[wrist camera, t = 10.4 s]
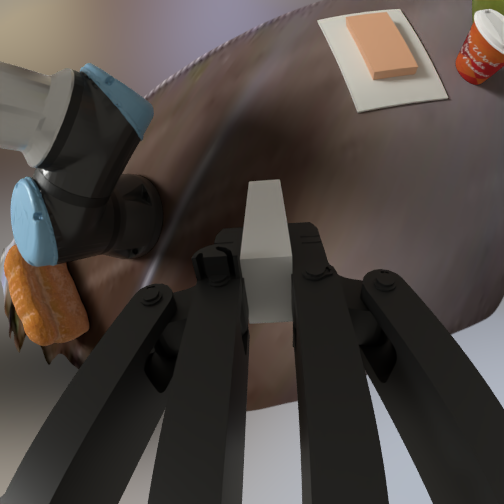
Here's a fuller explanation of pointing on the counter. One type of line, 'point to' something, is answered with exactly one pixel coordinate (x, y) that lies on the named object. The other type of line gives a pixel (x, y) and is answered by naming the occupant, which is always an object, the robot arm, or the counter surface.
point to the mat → (387, 89)
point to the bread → (45, 300)
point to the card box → (381, 45)
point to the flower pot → (487, 6)
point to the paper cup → (482, 47)
